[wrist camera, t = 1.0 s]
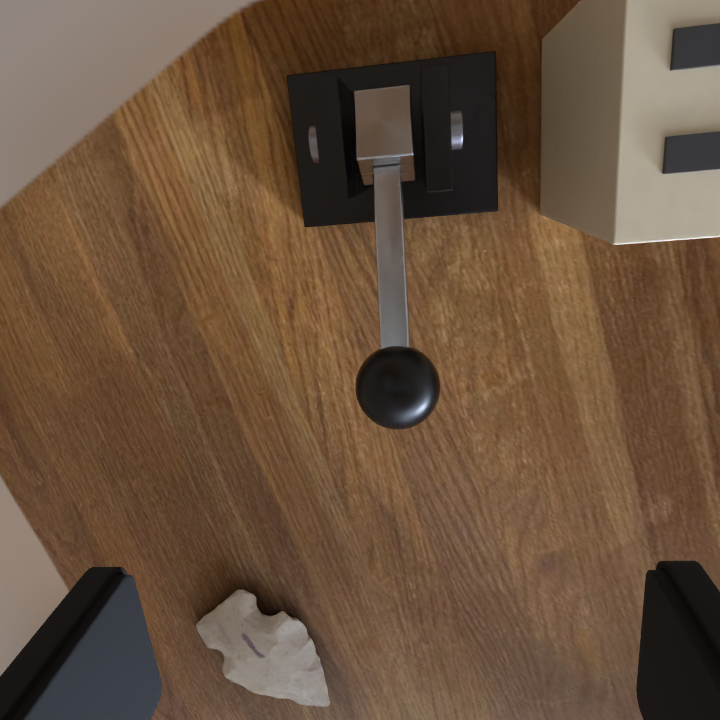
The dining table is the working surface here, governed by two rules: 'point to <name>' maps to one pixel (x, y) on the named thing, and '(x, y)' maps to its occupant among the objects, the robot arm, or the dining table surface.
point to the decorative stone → (265, 651)
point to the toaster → (633, 120)
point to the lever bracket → (430, 132)
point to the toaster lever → (391, 263)
